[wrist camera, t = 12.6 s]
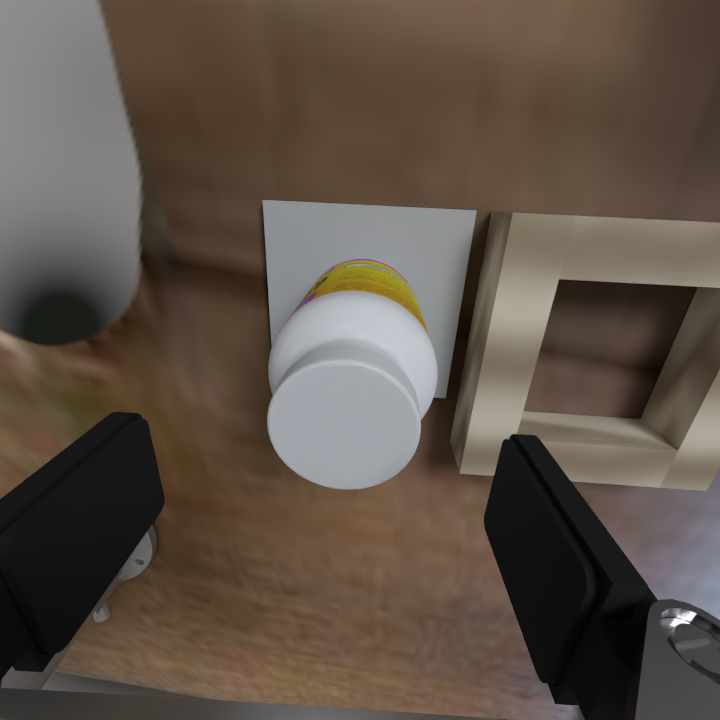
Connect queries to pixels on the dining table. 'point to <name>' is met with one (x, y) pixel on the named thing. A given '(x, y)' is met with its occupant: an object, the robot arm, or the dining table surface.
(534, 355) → the cup holder
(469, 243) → the grey mat
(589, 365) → the dining table surface
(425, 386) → the supplement bottle
